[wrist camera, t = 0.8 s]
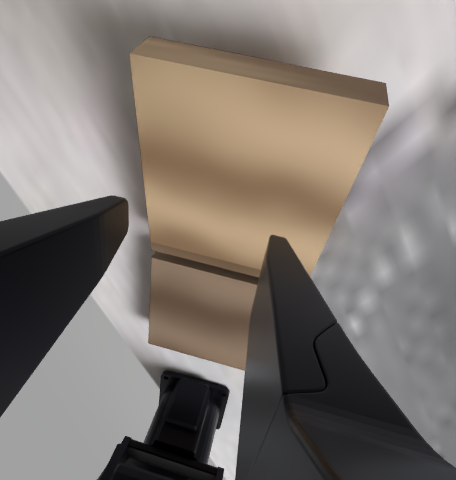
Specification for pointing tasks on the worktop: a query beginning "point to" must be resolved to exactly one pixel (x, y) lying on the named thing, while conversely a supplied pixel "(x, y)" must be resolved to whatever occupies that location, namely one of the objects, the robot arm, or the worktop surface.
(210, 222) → the tan rectangular slab
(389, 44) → the worktop surface
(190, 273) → the tan flat block
